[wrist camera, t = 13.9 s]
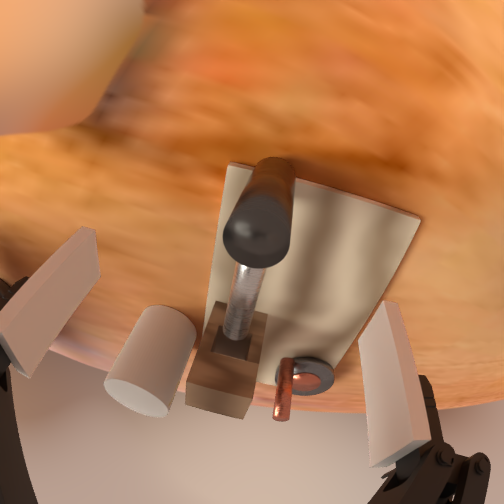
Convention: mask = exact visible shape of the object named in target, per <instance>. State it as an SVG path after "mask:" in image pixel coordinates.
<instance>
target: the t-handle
mask: <svg viewBox="0 0 504 504" xmlns="http://www.w3.org/2000/svg"><path fill="white" fill-rule="evenodd" d="M295 182H296V175H295V172H294V169H293V167H292V166H291V165H290V164H289V163H288V162H287V161H285V160H284V159H281V158H278V157H268V158H265V159H263V160H261V161H260V162H259V163H257V165H256V166H255V168H254V170H253V171H252V173H251V175H250V177H249V179H248V181H247V183H246V185H245V187H244V189H243V191H242V193H241V195H240V197H239V199H238V201H237V203H236V205H235V207H234V209H233V211H232V213H231V215H230V217H229V219H228V221H227V223H226V225H225V227H224V230H223V244H224V247H225V249H226V251H227V252H228V254H229V255H230V256H231V257H232V258H233V259H234V260H235V261H236V266H235V271H234V275H233V280H232V285H231V290H230V295H229V300H228V305H227V310H226V315H225V320H224V325H223V333H224V334H225V336H226V337H228V338H229V339H232V340H242V339H244V338H245V337H246V336H247V334H248V331H249V327H250V324H251V321H252V317H253V314H254V310H255V307H256V304H257V300H258V297H259V293H260V290H261V286H262V283H263V279H264V276H265V272H266V269H267V268H268V267H272V266H274V265H276V264H278V263H279V262H281V261H282V260H283V259H284V257H285V256H286V255H287V253H288V250H289V247H290V238H291V228H292V217H293V206H294V194H295Z"/></svg>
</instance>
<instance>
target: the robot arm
mask: <svg viewBox="0 0 504 504" xmlns="http://www.w3.org/2000/svg"><path fill="white" fill-rule="evenodd" d="M100 277H101V274H100V267H99V259H98V251H97V242H96V232H95V230H94V229H90V228H86V227H83V226H82V227H81V228H80V229H79V230H78V231H77V232H76V233H75V234H74V235H72V236H71V237H70V238H69V239H68V240H67V241H66V242H65V243H64V244H63V245H62V246H61V247H60V248H59V249H58V250H57V251H56V252H55V253H54V254H53V255H52V256H51V257H50V258H49V259H48V260H47V261H46V262H45V263H44V264H43V265H42V266H41V267H40V268H39V269H38V270H37V271H36V272H35V273H34V274H33V275H32V276H31V277H30V278H29V277H24V278H22V279H21V280H19V281H17V282H16V283H15V284H14V285H13V286H12V287H11V288H10V287H9V286H8V285H7V284H6V283H4V282H3V281H2V280H1V279H0V504H38V502H37V499H36V496H35V493H34V490H33V487H32V484H31V481H30V478H29V474H28V470H27V467H26V463H25V459H24V456H23V451H22V447H21V443H20V438H19V433H18V428H17V423H16V417H15V410H14V403H13V396H12V387H11V376H10V370H9V367H8V366H9V365H10V363H12V364H13V366H14V367H15V368H16V370H17V371H18V372H20V373H21V374H23V375H24V376H26V377H28V378H30V377H31V376H32V374H33V372H34V371H35V369H36V367H37V366H38V364H39V363H40V361H41V359H42V358H43V356H44V355H45V354H46V352H47V350H48V349H49V347H50V346H51V344H52V343H53V341H54V340H55V339H56V337H57V336H58V334H59V333H60V331H61V330H62V328H63V327H64V326H65V324H66V323H67V321H68V320H69V318H70V317H71V316H72V314H73V313H74V312H75V310H76V309H77V307H78V306H79V305H80V303H81V302H82V301H83V299H84V298H85V297H86V295H87V294H88V293H89V291H90V290H91V289H92V287H93V286H94V285H95V284H96V282H97V281H98V280H99V278H100ZM358 344H359V352H360V359H361V367H362V375H363V384H364V393H365V403H366V414H367V426H368V441H369V459H370V468H371V467H372V468H373V467H387V466H389V465H391V464H393V463H394V462H396V468H395V469H393V470H391V471H390V472H388V473H386V474H384V475H383V476H382V477H381V478H382V479H384V478H386V477H388V478H387V479H386V481H385V482H384V483H383V484H382V486H381V487H380V488H379V490H378V491H377V492H376V494H375V495H374V496H373V497H372V499H371V500H370V501H369V502H368V504H484V502H485V497H486V492H487V487H488V482H489V476H490V470H491V469H490V468H491V464H490V461H489V459H488V457H487V456H486V455H485V454H483V453H480V452H479V453H476V454H474V455H473V456H471V457H465V456H462V455H458V454H455V451H454V449H453V448H452V447H451V446H450V445H449V444H447V443H445V442H444V440H443V436H442V431H441V426H440V421H439V417H438V411H437V408H436V402H435V399H434V394H433V390H432V386H431V384H430V383H429V381H428V379H427V378H426V376H425V375H418V373H417V369H416V365H415V361H414V357H413V353H412V350H411V346H410V343H409V339H408V336H407V332H406V329H405V326H404V322H403V319H402V316H401V313H400V310H399V307H398V304H397V303H395V302H390V301H386V300H383V301H382V303H381V304H380V306H379V308H378V309H377V311H376V313H375V314H374V316H373V317H372V319H371V321H370V322H369V324H368V325H367V327H366V329H365V330H364V332H363V333H362V335H361V336H360V338H359V339H358ZM453 495H455V496H454V499H453V501H452V498H453Z"/></svg>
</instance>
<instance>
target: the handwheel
mask: <svg viewBox="0 0 504 504" xmlns="http://www.w3.org/2000/svg"><path fill="white" fill-rule="evenodd" d="M275 383H276V385H277V389H276V396H275V403H274V411H273V419H274V420H276V421H287V420H289V416H290V407H291V397H292V394H294V395H301V396H308V395H316V394H319V393H322V392H324V391H326V390H328V389H329V388H330V387H331V386H332V385H333V383H334V369H333V367H332V366H331V365H330V364H329V363H327V362H326V361H324V360H321V359H318V358H313V357H296V358H289V357H284V358H282V359H281V360H280V365H279V366H278V367H277V369H276V373H275Z"/></svg>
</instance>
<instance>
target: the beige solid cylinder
mask: <svg viewBox="0 0 504 504" xmlns="http://www.w3.org/2000/svg"><path fill="white" fill-rule="evenodd" d="M196 337H197V331H196V328H195V326H194V325H193V323H192V322H191V321H190V320H189V319H188V318H187V317H186V316H185V315H184V314H182V313H181V312H179V311H177V310H175V309H173V308H170V307H167V306H163V305H152V306H149V307H147V308H146V309H144V311H143V312H142V314H141V316H140V317H139V319H138V321H137V323H136V324H135V326H134V328H133V330H132V331H131V333H130V335H129V337H128V339H127V340H126V342H125V344H124V346H123V348H122V349H121V351H120V353H119V355H118V357H117V358H116V360H115V362H114V364H113V366H112V368H111V370H110V371H109V373H108V375H107V377H106V379H105V381H104V387H105V389H106V391H107V392H108V393H109V394H110V395H111V396H112V397H113V398H114V399H115V400H116V401H118V402H119V403H121V404H122V405H124V406H125V407H127V408H129V409H131V410H133V411H135V412H138V413H141V414H144V415H147V416H151V417H165V416H167V415H168V412H169V410H170V407H171V404H172V402H173V399H174V396H175V393H176V391H177V388H178V385H179V383H180V380H181V377H182V375H183V372H184V369H185V366H186V364H187V361H188V358H189V356H190V353H191V351H192V348H193V345H194V343H195V340H196Z"/></svg>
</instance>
